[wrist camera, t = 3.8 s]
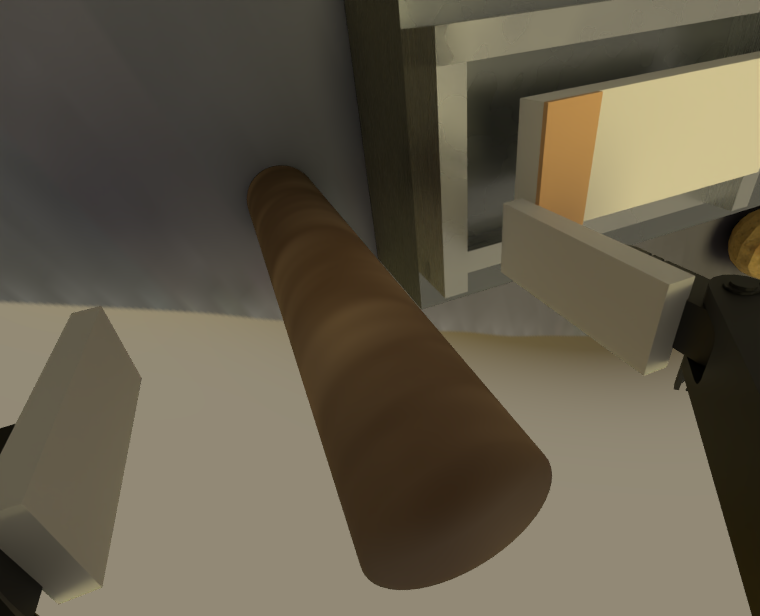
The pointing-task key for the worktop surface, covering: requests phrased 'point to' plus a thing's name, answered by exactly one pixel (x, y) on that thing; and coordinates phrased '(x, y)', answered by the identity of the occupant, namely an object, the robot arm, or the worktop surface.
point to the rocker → (639, 137)
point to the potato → (746, 245)
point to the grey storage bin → (508, 116)
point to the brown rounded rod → (392, 401)
